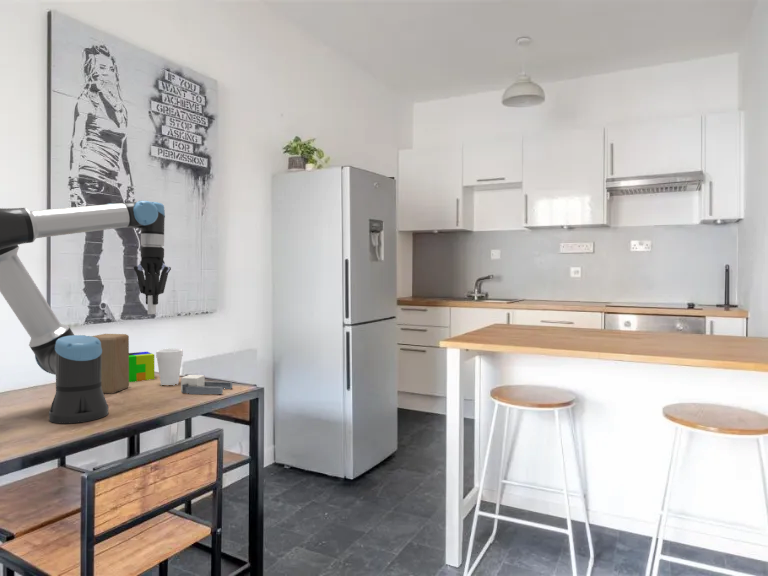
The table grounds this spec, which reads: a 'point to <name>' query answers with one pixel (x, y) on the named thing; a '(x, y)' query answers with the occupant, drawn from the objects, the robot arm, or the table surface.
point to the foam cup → (169, 365)
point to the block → (193, 380)
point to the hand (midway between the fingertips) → (151, 313)
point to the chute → (207, 388)
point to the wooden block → (114, 362)
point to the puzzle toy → (141, 366)
